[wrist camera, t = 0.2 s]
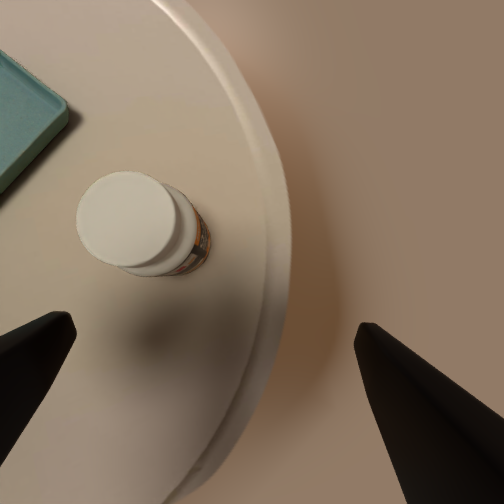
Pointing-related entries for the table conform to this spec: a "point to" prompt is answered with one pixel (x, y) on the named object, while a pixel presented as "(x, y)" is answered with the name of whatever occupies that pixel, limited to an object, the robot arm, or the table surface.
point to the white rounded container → (141, 226)
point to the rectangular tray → (25, 118)
